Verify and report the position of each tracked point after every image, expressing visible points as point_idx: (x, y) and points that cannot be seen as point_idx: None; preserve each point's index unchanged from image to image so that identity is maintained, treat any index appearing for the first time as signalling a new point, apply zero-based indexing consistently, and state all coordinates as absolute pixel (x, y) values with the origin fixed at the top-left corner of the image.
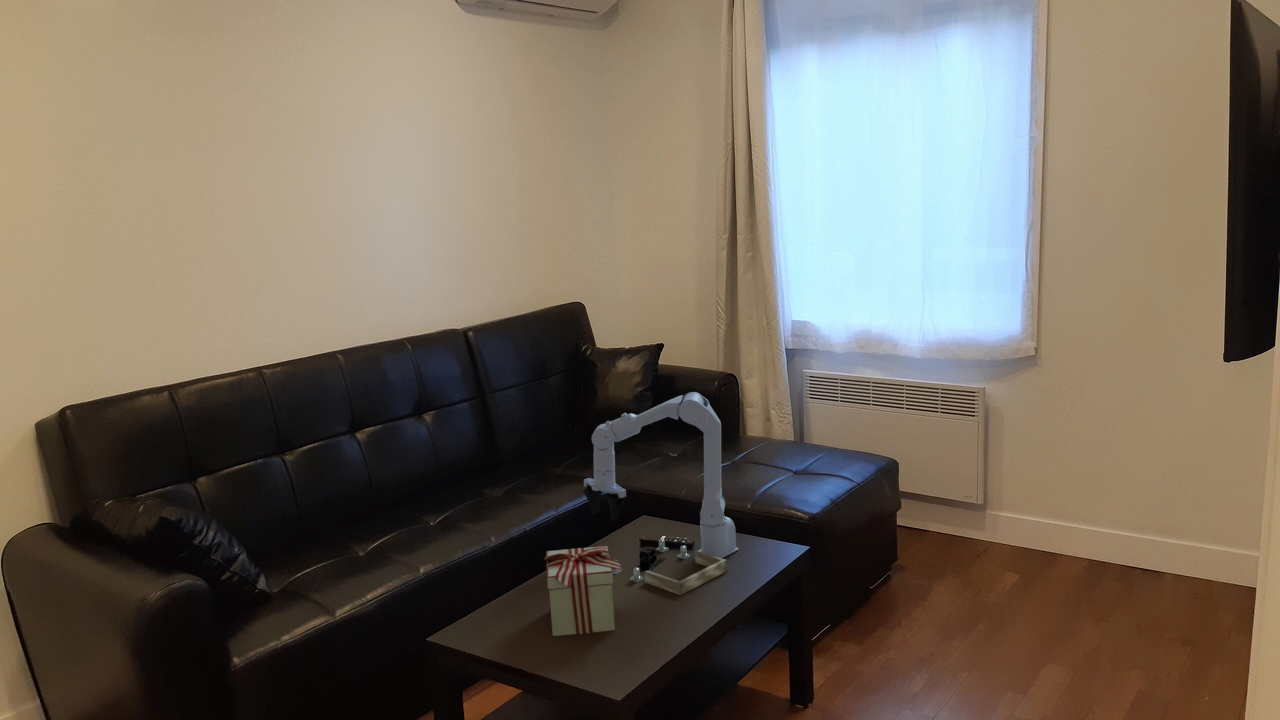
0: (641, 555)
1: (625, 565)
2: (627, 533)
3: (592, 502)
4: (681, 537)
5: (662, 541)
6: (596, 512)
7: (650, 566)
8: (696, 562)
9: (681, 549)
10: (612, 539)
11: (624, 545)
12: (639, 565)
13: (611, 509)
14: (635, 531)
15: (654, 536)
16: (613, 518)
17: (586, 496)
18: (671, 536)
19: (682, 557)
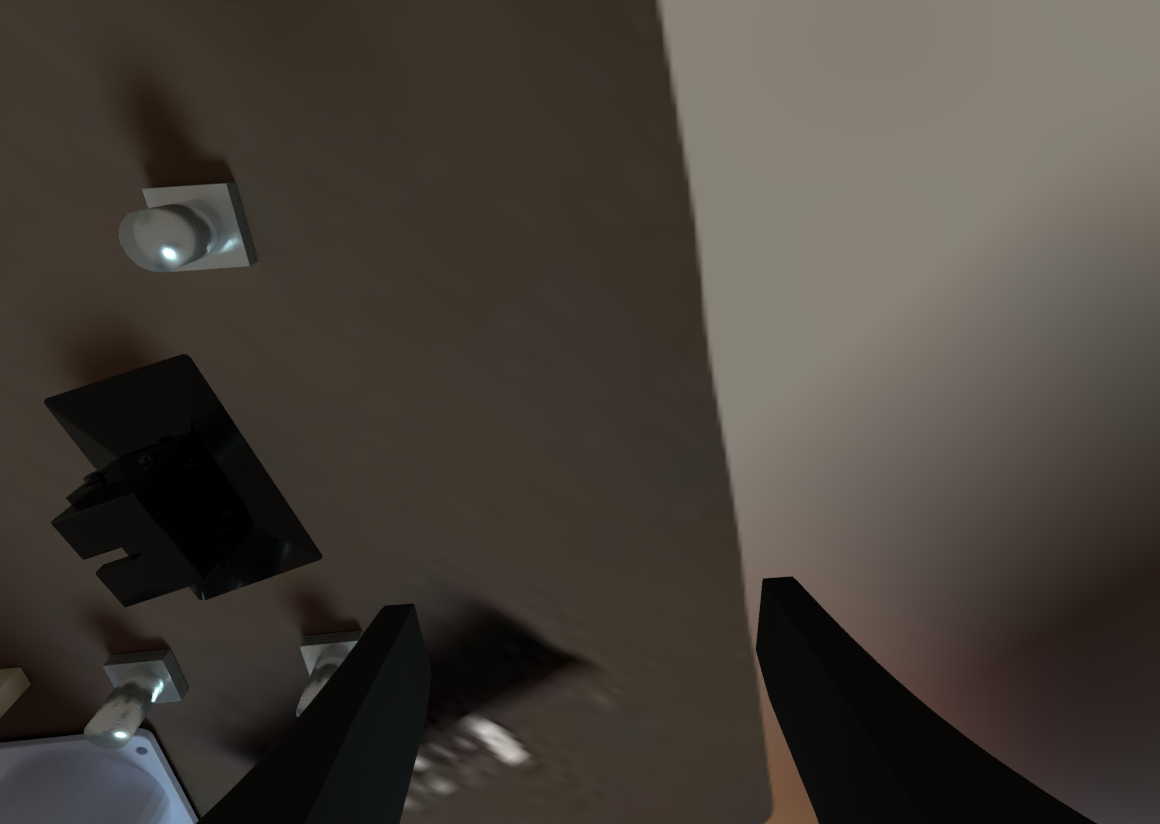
0: (126, 476)
1: (276, 363)
2: (716, 666)
3: (846, 730)
4: (424, 795)
5: (298, 704)
6: (763, 628)
7: (113, 460)
8: (9, 671)
9: (108, 708)
10: (726, 567)
11: (586, 560)
12: (183, 421)
13: (293, 756)
14: (698, 705)
15: (551, 727)
16: (364, 640)
17: (1034, 798)
18: (477, 774)
19: (120, 661)
